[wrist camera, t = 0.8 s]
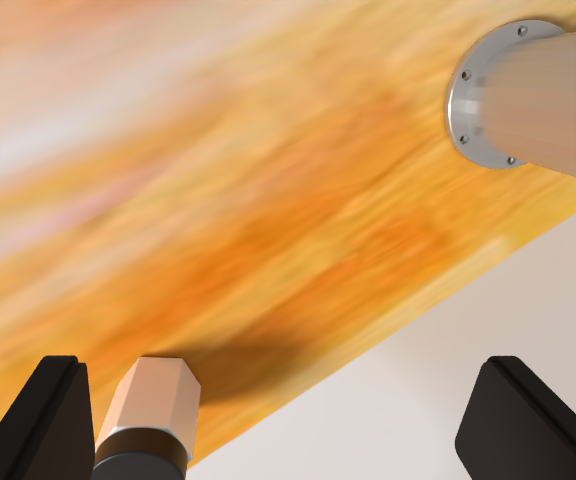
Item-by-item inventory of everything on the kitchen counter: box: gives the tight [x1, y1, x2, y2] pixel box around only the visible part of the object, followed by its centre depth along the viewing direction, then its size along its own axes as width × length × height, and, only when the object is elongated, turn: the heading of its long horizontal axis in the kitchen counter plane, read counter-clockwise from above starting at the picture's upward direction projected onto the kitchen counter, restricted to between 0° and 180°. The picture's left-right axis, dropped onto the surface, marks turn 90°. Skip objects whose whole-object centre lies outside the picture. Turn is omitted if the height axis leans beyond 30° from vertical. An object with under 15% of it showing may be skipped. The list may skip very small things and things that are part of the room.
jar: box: [90, 357, 201, 480], centre depth 39 cm, size 9×8×12 cm
